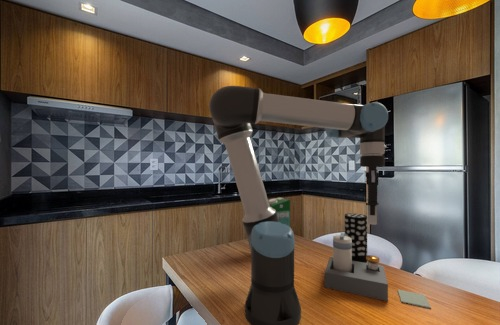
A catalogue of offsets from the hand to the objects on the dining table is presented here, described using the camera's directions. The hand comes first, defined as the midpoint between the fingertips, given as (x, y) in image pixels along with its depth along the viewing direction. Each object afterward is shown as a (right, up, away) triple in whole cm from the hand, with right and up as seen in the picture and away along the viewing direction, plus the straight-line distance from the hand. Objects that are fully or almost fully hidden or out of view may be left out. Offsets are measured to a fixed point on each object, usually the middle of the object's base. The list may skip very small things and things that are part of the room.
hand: (372, 224), depth 79 cm
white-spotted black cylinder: (+1, -21, +14) cm, 25 cm away
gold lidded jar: (0, -18, 0) cm, 18 cm away
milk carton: (-30, -21, +26) cm, 45 cm away
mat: (+7, -20, -10) cm, 23 cm away
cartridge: (-10, -20, +1) cm, 22 cm away
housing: (-6, -20, -1) cm, 21 cm away
